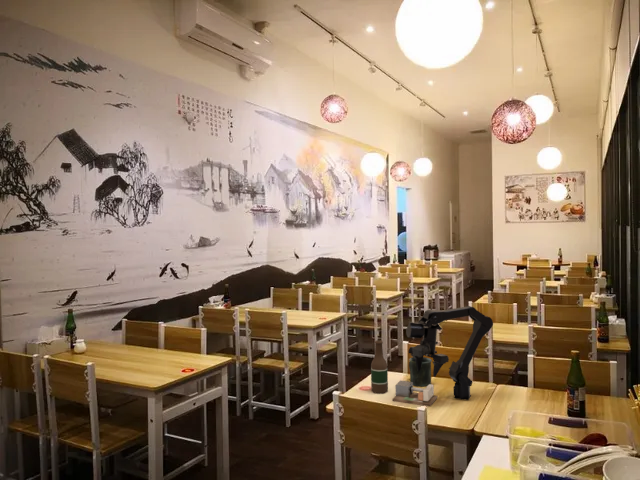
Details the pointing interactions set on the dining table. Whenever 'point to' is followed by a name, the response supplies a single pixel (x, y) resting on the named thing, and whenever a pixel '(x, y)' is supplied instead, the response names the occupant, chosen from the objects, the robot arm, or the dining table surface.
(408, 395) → the notched steel block
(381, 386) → the beer bottle
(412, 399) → the base
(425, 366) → the mug
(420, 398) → the peach cube
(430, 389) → the plunger
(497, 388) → the dining table surface
